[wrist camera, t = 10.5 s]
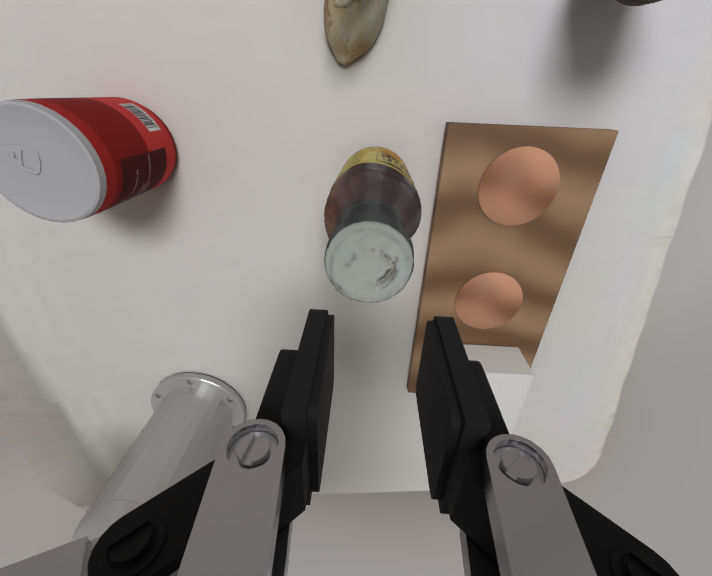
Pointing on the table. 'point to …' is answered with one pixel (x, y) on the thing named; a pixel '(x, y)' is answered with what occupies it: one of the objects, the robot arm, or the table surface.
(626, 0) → the light bulb
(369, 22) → the beige rounded lump
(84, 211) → the canned food
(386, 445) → the table surface
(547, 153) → the board
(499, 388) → the block
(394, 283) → the sauce bottle
